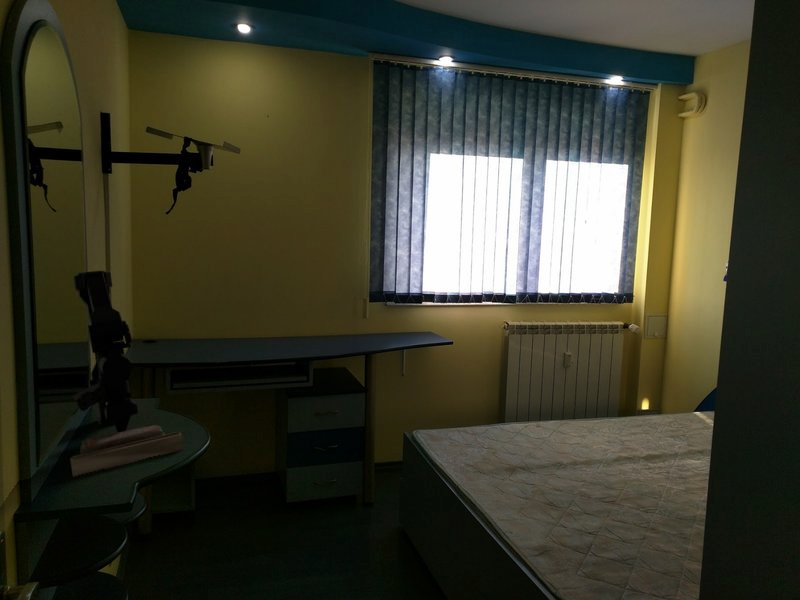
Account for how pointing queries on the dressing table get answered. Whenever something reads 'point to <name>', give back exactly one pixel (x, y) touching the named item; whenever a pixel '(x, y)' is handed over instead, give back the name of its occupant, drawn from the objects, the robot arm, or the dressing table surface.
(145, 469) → the dressing table surface
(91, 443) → the packaged product
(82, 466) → the oak rail
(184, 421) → the dressing table surface
